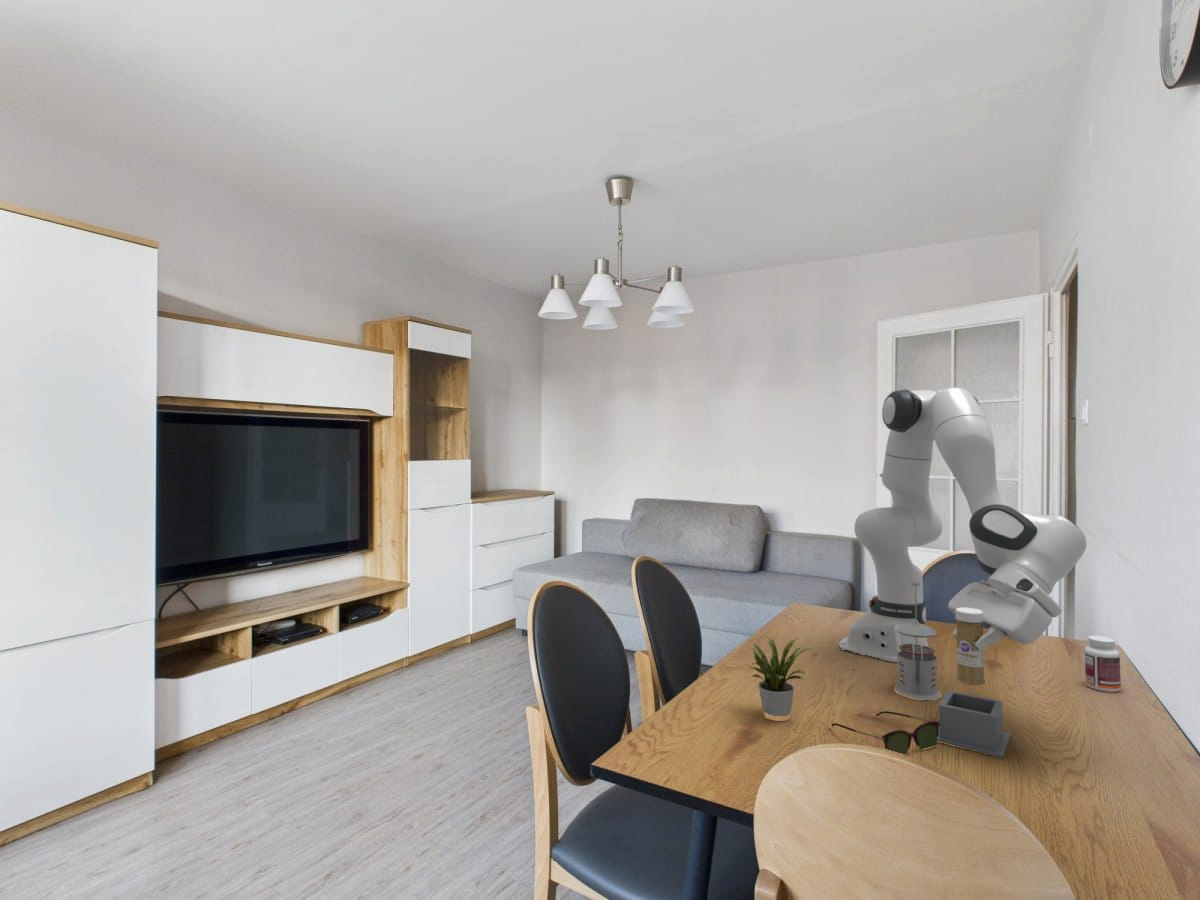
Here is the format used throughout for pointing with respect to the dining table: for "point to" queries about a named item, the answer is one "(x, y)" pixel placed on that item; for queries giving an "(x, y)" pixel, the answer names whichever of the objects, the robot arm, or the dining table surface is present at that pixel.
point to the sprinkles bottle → (969, 646)
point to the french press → (917, 662)
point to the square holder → (973, 723)
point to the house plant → (776, 679)
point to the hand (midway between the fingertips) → (966, 643)
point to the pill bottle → (1102, 664)
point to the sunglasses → (907, 735)
